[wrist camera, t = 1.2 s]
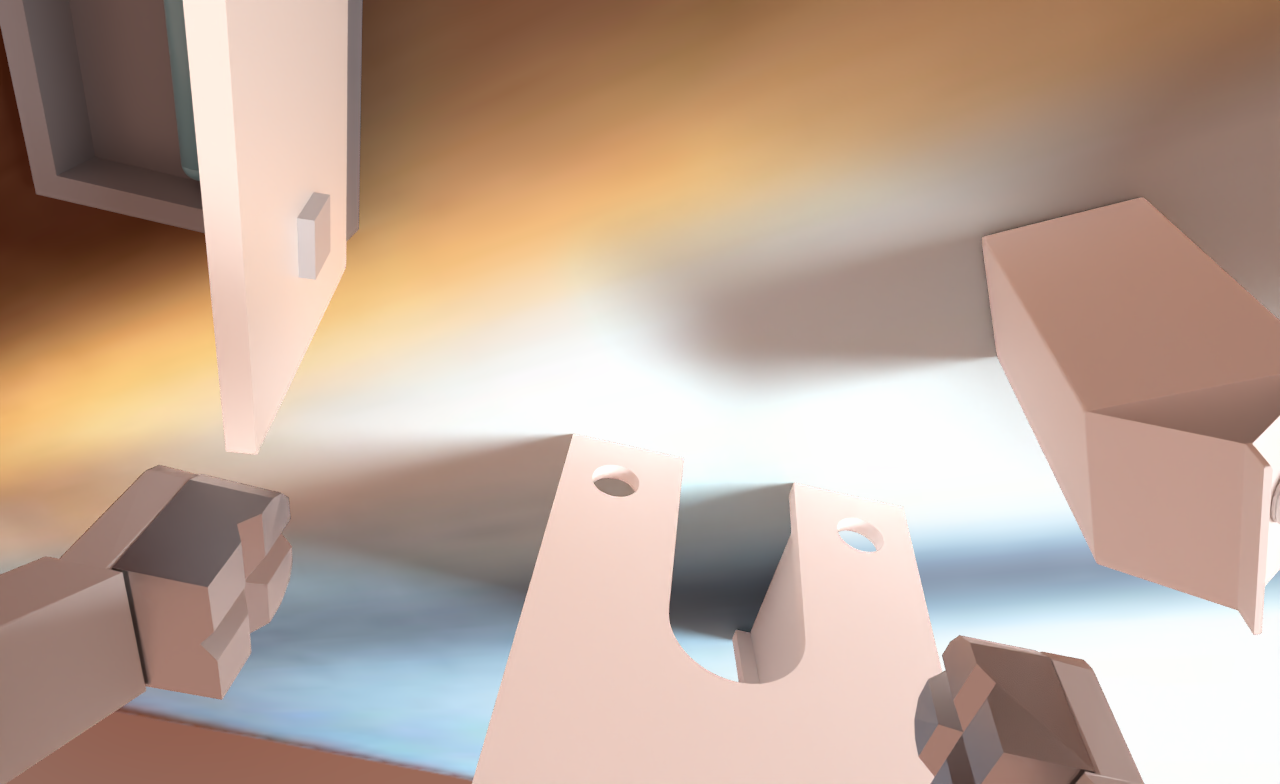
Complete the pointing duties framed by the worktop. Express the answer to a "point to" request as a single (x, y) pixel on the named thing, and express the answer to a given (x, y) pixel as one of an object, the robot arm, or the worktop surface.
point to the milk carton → (1147, 396)
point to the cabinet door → (268, 188)
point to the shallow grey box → (126, 105)
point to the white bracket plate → (678, 686)
